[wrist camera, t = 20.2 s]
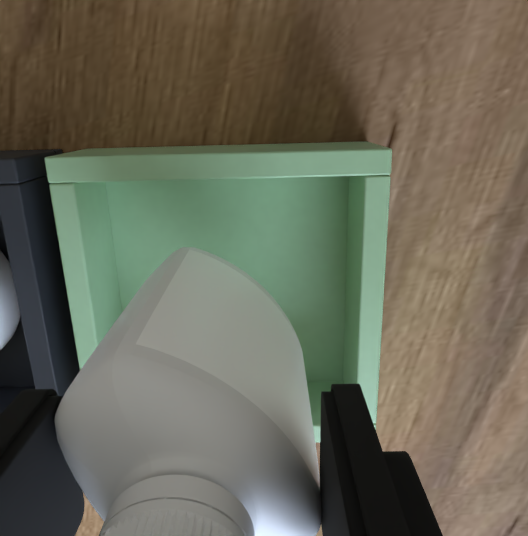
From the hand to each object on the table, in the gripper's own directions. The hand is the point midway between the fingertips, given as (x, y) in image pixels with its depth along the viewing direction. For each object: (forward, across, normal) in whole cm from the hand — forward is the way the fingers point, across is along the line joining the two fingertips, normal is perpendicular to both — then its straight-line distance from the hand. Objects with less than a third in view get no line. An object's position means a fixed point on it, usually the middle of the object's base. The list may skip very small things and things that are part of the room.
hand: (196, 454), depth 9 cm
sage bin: (+11, 0, 0) cm, 11 cm away
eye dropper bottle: (+7, 0, 0) cm, 7 cm away
